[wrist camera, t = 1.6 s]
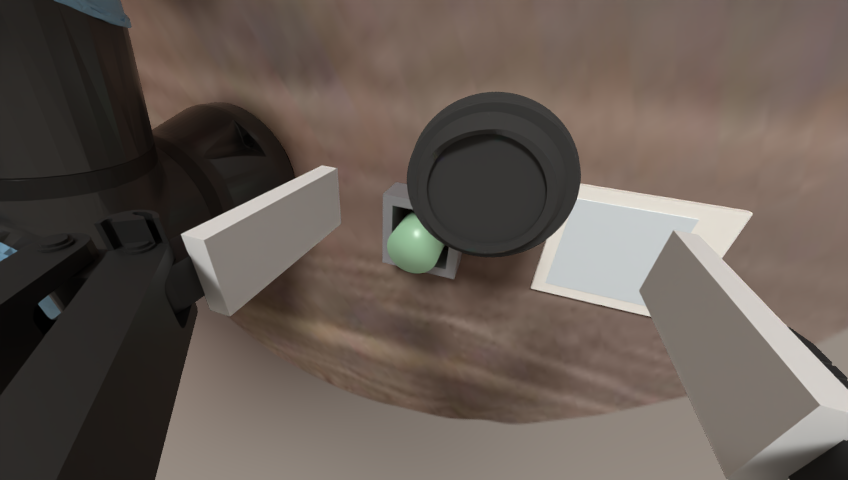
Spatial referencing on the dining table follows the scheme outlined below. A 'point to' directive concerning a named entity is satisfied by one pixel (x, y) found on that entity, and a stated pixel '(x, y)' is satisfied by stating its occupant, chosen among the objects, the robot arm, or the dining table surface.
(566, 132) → the coffee cup
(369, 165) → the dining table surface
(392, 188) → the button box
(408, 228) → the button
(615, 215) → the white flat piece
